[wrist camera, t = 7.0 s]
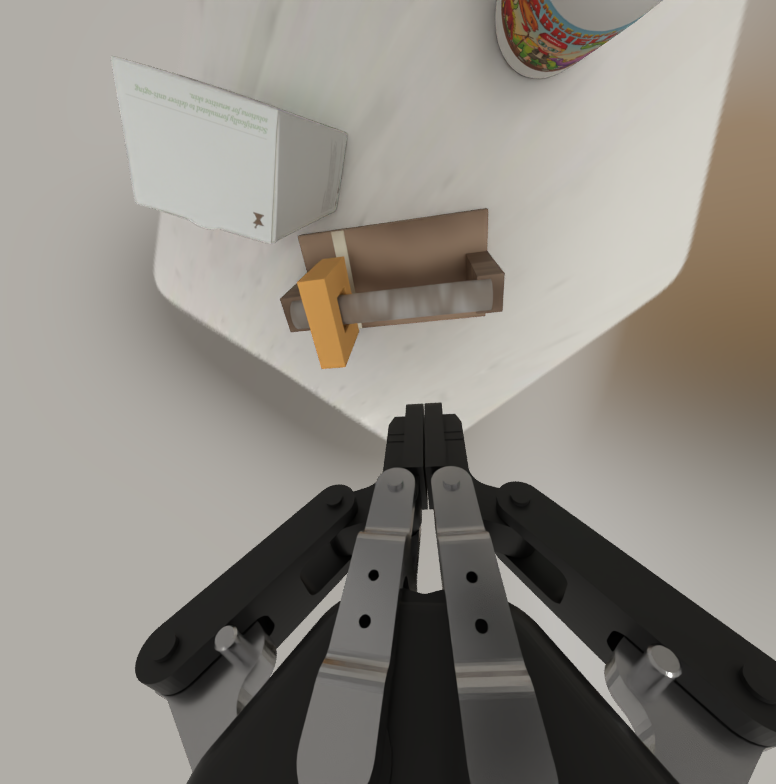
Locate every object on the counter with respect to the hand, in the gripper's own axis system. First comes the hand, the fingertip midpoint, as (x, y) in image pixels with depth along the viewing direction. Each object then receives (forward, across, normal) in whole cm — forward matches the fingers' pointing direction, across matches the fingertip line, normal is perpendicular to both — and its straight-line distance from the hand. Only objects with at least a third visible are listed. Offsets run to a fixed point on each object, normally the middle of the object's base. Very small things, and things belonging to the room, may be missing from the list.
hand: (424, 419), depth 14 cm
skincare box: (+24, +10, -10) cm, 28 cm away
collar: (+18, +8, 0) cm, 20 cm away
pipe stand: (+24, +3, 0) cm, 24 cm away
